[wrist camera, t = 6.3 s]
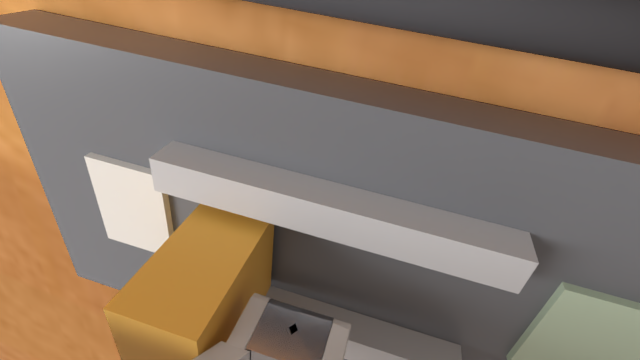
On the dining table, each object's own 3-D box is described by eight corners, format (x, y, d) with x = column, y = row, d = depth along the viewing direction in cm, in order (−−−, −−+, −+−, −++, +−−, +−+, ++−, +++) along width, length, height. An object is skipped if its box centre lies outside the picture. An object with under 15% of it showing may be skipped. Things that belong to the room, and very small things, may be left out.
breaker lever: (275, 213, 12) (196, 341, 8) (270, 285, 14) (206, 414, 10) (207, 195, 12) (103, 308, 8) (213, 267, 14) (130, 385, 10)
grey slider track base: (831, 175, 9) (984, 267, 7) (580, 400, 16) (607, 488, 13) (34, 9, 13) (-68, 26, 10) (107, 248, 20) (57, 294, 17)
